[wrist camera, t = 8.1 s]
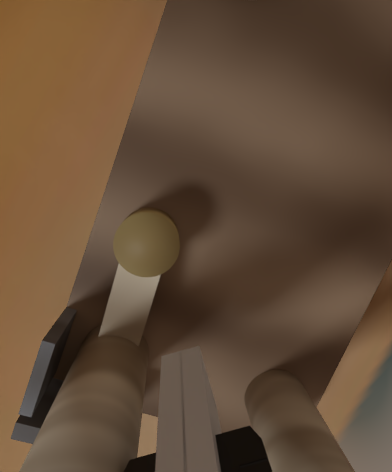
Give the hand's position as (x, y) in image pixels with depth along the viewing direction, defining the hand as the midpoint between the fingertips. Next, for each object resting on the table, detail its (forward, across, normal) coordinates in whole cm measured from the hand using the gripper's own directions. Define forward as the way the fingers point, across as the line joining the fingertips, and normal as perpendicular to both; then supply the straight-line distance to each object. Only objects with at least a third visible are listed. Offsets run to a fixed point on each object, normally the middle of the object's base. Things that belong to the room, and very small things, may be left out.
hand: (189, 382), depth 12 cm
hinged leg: (+4, -2, +2) cm, 5 cm away
